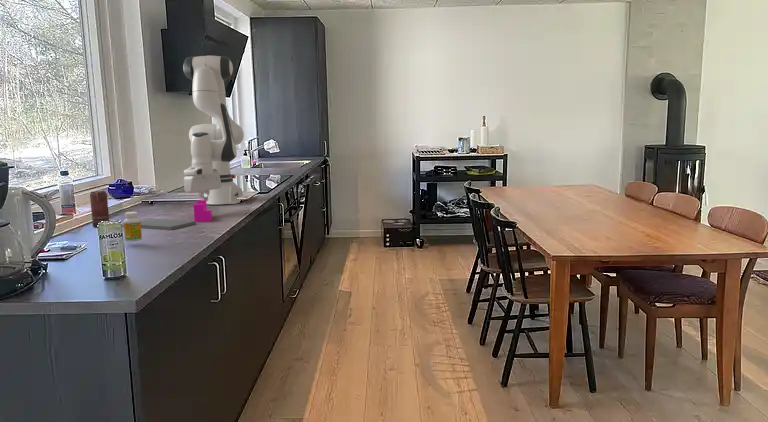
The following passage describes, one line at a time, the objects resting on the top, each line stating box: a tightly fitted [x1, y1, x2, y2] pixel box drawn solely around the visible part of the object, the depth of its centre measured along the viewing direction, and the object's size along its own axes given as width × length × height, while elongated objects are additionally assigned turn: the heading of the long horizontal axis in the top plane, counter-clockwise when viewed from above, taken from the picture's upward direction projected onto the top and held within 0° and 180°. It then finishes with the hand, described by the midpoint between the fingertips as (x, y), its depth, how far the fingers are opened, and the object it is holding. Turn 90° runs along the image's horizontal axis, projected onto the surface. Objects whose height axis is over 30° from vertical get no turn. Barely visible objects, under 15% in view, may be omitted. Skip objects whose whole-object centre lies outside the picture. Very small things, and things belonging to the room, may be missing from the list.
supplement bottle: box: [123, 211, 143, 242], centre depth 200 cm, size 5×5×10 cm
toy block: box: [193, 199, 213, 223], centre depth 244 cm, size 15×6×8 cm, turn 12°
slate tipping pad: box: [140, 217, 197, 231], centre depth 231 cm, size 14×24×1 cm, turn 67°
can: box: [89, 190, 110, 228], centre depth 230 cm, size 6×6×14 cm
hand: (204, 201), depth 254 cm, fingers closed
